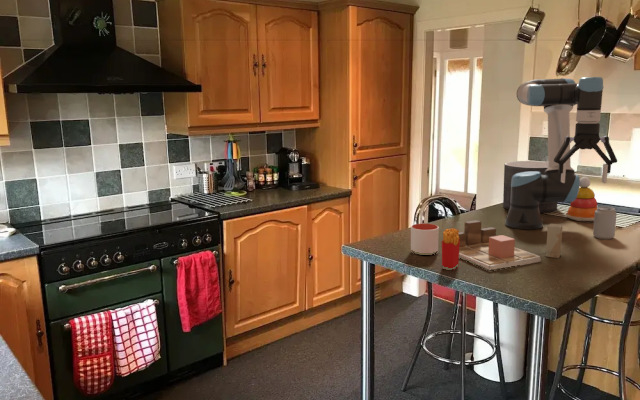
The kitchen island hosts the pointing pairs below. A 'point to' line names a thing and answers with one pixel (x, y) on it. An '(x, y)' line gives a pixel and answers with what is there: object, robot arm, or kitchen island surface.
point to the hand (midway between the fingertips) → (583, 182)
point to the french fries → (450, 248)
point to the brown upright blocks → (479, 239)
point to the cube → (501, 246)
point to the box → (554, 240)
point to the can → (604, 223)
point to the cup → (424, 238)
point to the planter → (519, 167)
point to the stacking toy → (583, 203)
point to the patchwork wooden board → (485, 240)
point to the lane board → (504, 264)
